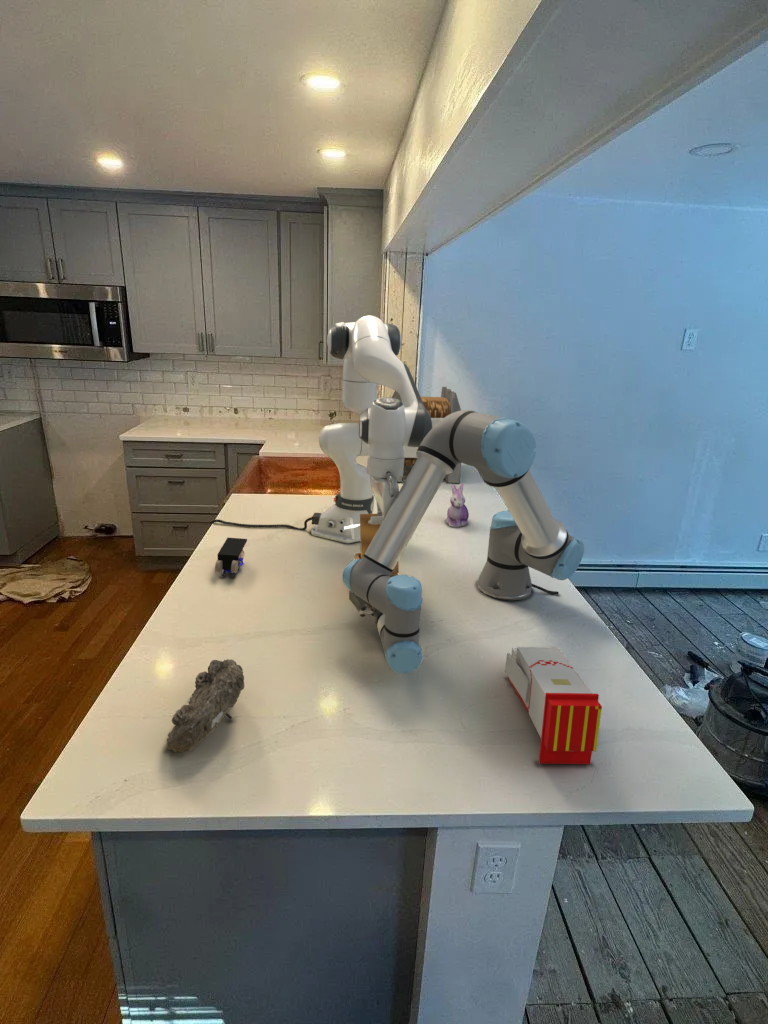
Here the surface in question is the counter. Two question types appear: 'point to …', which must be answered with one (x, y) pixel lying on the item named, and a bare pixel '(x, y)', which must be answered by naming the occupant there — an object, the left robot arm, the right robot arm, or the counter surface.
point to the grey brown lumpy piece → (206, 705)
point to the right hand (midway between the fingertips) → (377, 579)
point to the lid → (370, 532)
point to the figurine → (457, 508)
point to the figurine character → (230, 556)
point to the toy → (556, 704)
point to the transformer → (437, 411)
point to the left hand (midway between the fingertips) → (383, 520)
